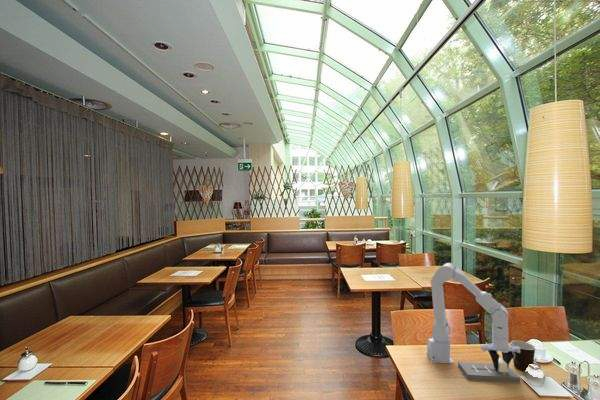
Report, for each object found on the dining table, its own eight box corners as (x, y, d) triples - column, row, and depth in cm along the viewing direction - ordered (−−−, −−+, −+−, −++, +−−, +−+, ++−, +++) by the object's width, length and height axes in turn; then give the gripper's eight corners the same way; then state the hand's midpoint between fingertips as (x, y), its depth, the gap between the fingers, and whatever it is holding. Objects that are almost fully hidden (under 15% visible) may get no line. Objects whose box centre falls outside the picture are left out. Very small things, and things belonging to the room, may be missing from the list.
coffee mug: (535, 375, 126) (535, 351, 126) (510, 369, 131) (510, 345, 132) (535, 364, 136) (534, 341, 136) (511, 358, 141) (511, 336, 141)
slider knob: (499, 372, 125) (499, 363, 125) (494, 366, 130) (493, 357, 130) (507, 372, 125) (507, 363, 125) (501, 366, 129) (501, 358, 129)
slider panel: (467, 379, 124) (467, 374, 124) (458, 366, 134) (458, 361, 134) (520, 382, 122) (520, 377, 122) (506, 369, 132) (506, 364, 132)
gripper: (486, 339, 124) (486, 372, 124) (524, 341, 122) (525, 374, 122) (478, 332, 131) (478, 363, 131) (514, 333, 129) (514, 365, 129)
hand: (500, 368), depth 127 cm, fingers closed on slider knob, 3 cm apart
